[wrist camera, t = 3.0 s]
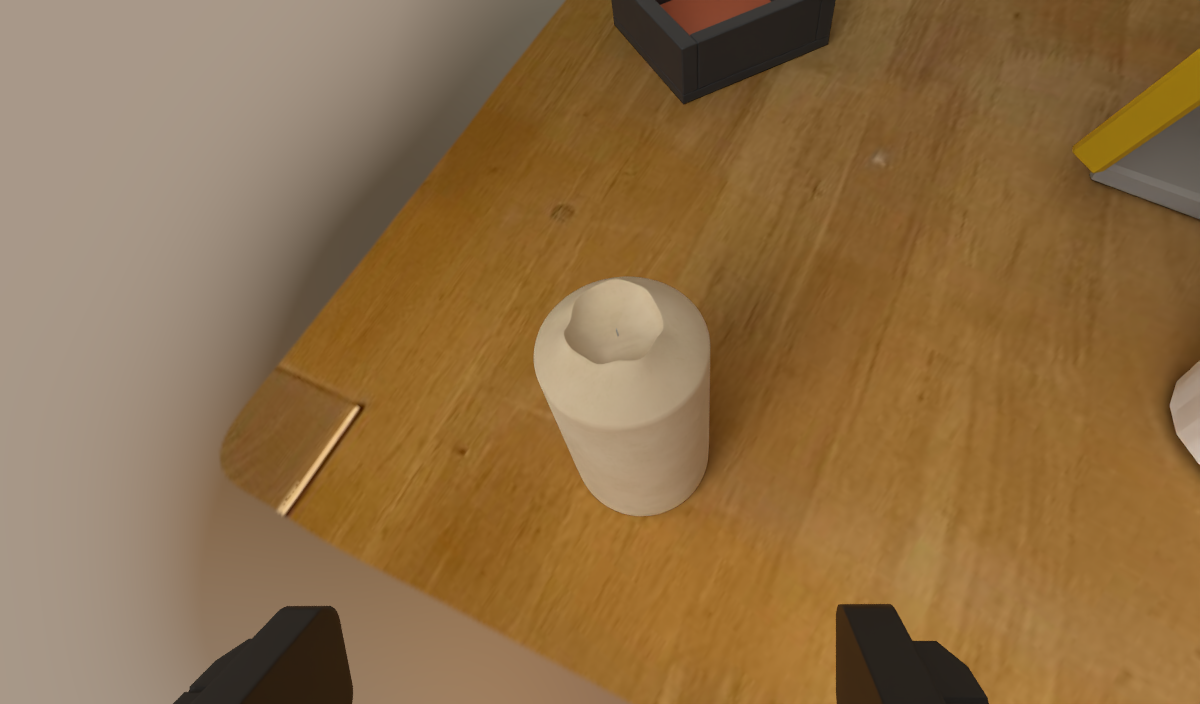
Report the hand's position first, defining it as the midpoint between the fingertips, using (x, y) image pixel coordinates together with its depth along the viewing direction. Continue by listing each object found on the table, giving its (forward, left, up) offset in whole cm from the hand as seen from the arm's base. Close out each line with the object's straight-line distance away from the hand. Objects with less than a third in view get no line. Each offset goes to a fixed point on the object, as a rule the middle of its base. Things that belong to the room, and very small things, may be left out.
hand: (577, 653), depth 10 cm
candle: (+4, +8, -14) cm, 17 cm away
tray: (+21, +32, -14) cm, 41 cm away
